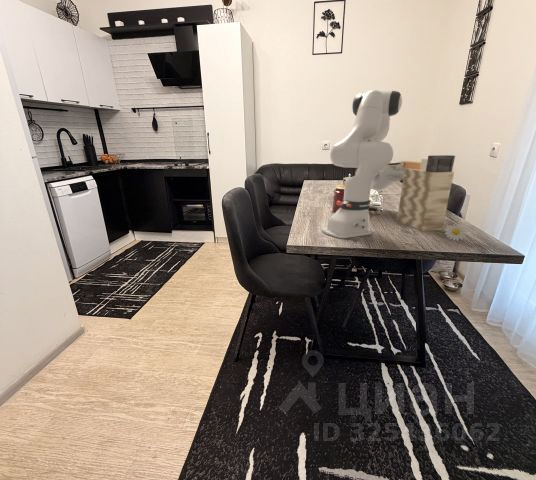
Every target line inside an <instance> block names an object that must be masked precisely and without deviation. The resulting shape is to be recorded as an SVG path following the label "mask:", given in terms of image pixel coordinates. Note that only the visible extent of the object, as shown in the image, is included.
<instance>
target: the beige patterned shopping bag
mask: <svg viewBox="0 0 536 480" xmlns="http://www.w3.org/2000/svg"><path fill="white" fill-rule="evenodd" d="M455 158H456V155H451V154H441V155H440V154H439V155H437V154H436V155H428V156H427V159H428V161H427V166H426V171H422V170H418V169H405V170H404V177H403V181H402V185H401V191H400V198H399V204H398V212H397V217H396V221H397V222H399V223H402V224H405V225H407V226H410V227H412V228H414V229H417V230H419V231H422V232H429V231H431V232H432V231H436V230H438V231H443V230H444V229H443V228H444V223H445V218H446V215H447V214H446V213H447V208H448V203H449V200H450V193H451V190H452V189H451V188H452V183H453V180H454V174H455V171H453V168H454V163H455Z"/></svg>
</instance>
